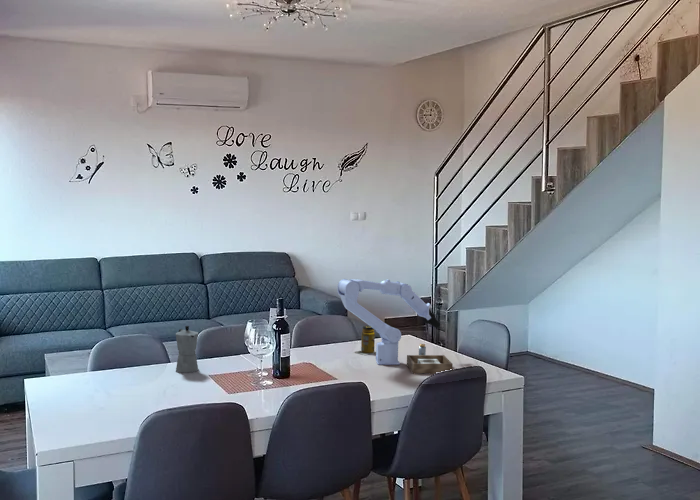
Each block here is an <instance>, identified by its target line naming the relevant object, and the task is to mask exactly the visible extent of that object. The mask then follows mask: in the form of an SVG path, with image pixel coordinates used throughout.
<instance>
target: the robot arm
mask: <svg viewBox="0 0 700 500" xmlns="http://www.w3.org/2000/svg"><path fill="white" fill-rule="evenodd" d="M364 290H373V291H379V292H380V294H381V295H382V294H383V295H388V296H399V297H400V298H401V299H402V300H403V301H404V303H406V304H407V305H408V306H409V307H410V308H411V309H412V310H413V311H414V313H416V314H417V316H418V317H422V318H424V319H423V320H422V321H423V323H425V324H426V325H427V324H428V325H431V326H433V327H434V328H435V329H438V328H439V327H440V326H441V324H440V322H439V321H438V319H437V318H436V315H435V313H434V312H432V311H431V309H430V306H431V303H429V302H427V303H426V302H424V300H423V299H421V297H419V295H418V294H417V293H416V292H415V291H413V289H412V286H411V285H410V284H407V283H404V282H400V281H391V280H390V279H388V278H387V279H385V280H382V281H380V282H375V281H370V280H364V279H357V278H356V279H355V278H350V279H347V278H343V279H340V281H339V282H337V294H338V296H339V297H340V300H341V302H342V305H343V306H344V308H345V309H346V310H347V311H348V312H350V313H352V315H354V317H355V316H356V317H357V318H358V319H360V320H361V321H363V322H364V323H365V324H366V325H367V326H371V327H372V328H373V329H374V331H375V332H376V333H378V334H379V337H380V338H381V341H380V342H376V343H375V344H376V345H375V346H376V347H375V348H376V349H375V352H376V353H375V361H376V363H377V365H384V366H385V365H391V366H392V365H395V366H396V365H401V363H400V361H399V342H400V340H401V338H402V332H401V330H400V329H398V328H396V327H393V326H391V325H389V324H387V323H386V322H384V321H382V320H381V319H380V318H379V317H378V316H376V315H375V314H373V313H372V312H371V311H369V310H368V309H366V308H365V307H364V306H362V305H361V304H360V303H358V298H359V293H360V292H363V291H364Z"/></svg>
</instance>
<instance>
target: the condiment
mask: <svg viewBox="0 0 700 500" xmlns="http://www.w3.org/2000/svg"><path fill="white" fill-rule="evenodd" d="M375 335H376V334H375V329H373V328H372V327H371V326H369V325H363V326H362V331H361V340H360V341H361V343H360V344H361V346H360V349H361V350H358V351H354V353H356V354H358V355H364V356H366V355H372V354H373V355H374V354H376V351H375V344H376V343H375V338H376V337H375Z"/></svg>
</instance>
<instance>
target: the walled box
mask: <svg viewBox="0 0 700 500" xmlns="http://www.w3.org/2000/svg"><path fill="white" fill-rule="evenodd" d="M407 365H408V366H407ZM406 366H407V367H408V369H409V370H410V371H411V373H412V375H415V374H414V373H430V374H431V375H434V373H436V372H441V371H445V370H450V369H452V370H453V366H454V365H453V363H452V362H451V361H450V360H449V359H448V358H447V356H445V355H444V354H439V355H437V354H436V355H435V354H426V355H419V354H407V355H406ZM430 374H429V375H430Z"/></svg>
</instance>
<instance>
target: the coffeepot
mask: <svg viewBox="0 0 700 500" xmlns="http://www.w3.org/2000/svg"><path fill="white" fill-rule="evenodd" d="M189 327H190V326H189V325H186V326H184V328H185V329H183V328H179V329H178V332H175V338H176V347H177V351H178V354H177V361H176V367H175V372H177V373H181V374H189V373H191V374H192V373H196V372H198V371H199V365H198V360H197V354H196V351H197V345H198V338H199V332H198V331H196V330H195V331H194V330H190V329H189Z"/></svg>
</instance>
